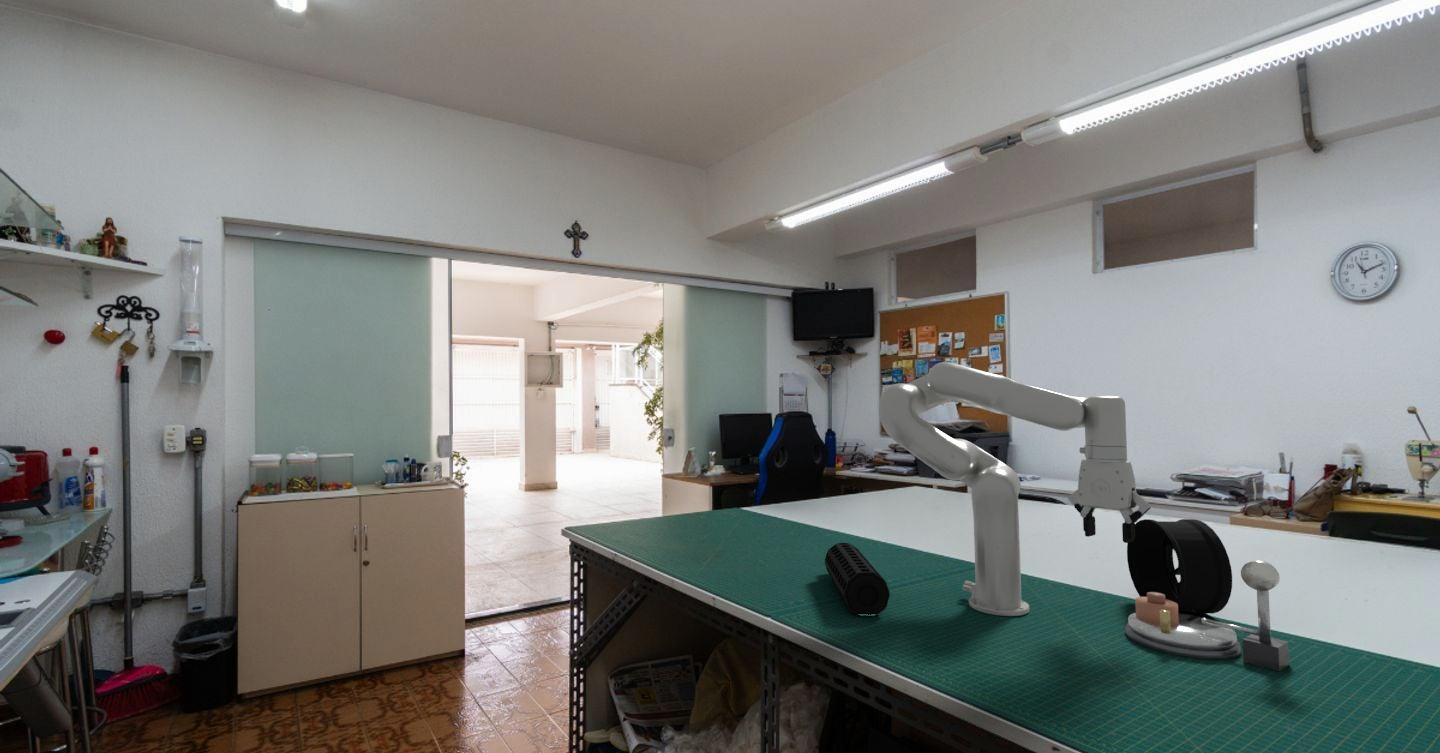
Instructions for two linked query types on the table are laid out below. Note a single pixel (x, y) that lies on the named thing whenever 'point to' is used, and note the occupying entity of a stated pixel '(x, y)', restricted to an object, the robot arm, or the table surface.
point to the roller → (856, 579)
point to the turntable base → (1184, 651)
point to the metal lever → (1260, 620)
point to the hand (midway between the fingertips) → (1108, 538)
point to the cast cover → (1155, 608)
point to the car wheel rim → (1181, 564)
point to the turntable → (1185, 632)
